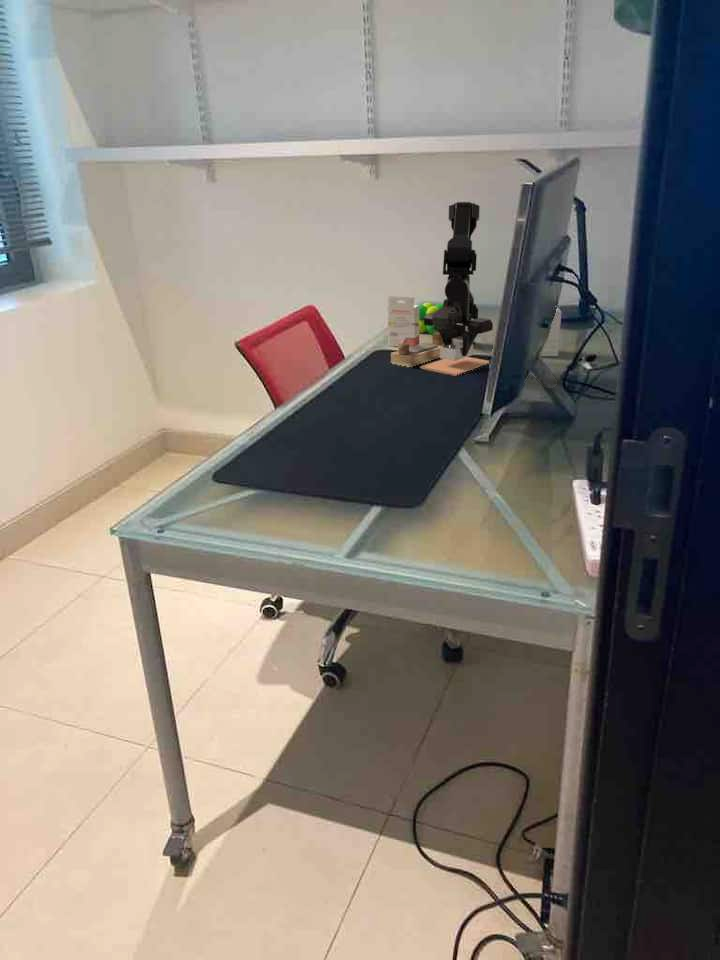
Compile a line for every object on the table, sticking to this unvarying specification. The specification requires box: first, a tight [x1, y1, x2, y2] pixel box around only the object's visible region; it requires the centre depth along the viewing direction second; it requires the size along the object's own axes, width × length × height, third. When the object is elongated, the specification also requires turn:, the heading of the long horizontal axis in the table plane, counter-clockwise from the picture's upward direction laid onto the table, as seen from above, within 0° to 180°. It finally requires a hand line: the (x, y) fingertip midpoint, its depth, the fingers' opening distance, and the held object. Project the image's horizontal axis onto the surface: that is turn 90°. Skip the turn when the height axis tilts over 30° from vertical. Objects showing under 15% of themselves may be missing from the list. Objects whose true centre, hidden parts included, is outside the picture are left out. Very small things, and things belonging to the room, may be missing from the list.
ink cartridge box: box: [387, 296, 420, 347], centre depth 226 cm, size 9×5×15 cm, turn 68°
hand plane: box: [390, 332, 444, 368], centre depth 211 cm, size 18×7×6 cm, turn 137°
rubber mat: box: [419, 356, 490, 377], centre depth 205 cm, size 16×12×1 cm
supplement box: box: [541, 306, 562, 357], centre depth 212 cm, size 7×7×13 cm
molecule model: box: [418, 302, 443, 335], centre depth 243 cm, size 9×9×9 cm
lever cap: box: [440, 336, 474, 361], centre depth 203 cm, size 8×5×4 cm, turn 137°
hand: (456, 354), depth 204 cm, fingers closed on lever cap, 5 cm apart
